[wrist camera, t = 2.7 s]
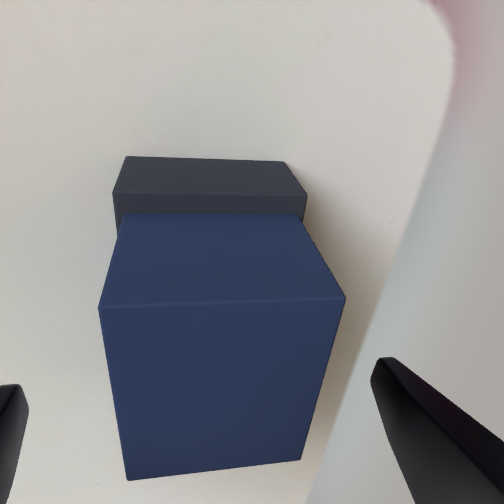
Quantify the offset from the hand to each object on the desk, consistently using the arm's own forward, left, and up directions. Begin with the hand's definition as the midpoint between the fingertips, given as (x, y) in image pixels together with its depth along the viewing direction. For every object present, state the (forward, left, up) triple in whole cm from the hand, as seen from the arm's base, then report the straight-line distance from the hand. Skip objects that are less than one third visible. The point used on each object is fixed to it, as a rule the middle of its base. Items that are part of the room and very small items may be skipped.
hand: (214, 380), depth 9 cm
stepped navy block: (0, 0, -4) cm, 4 cm away
